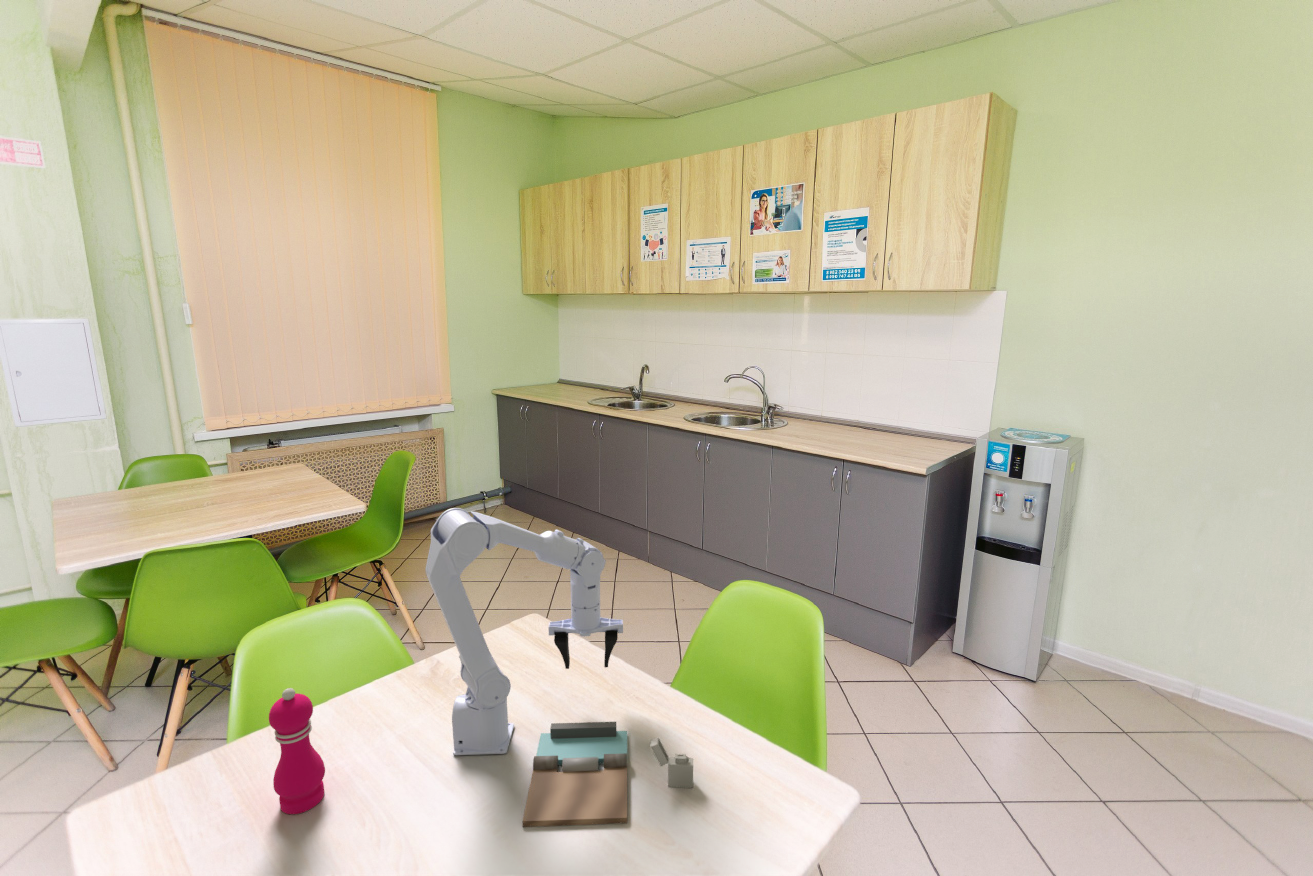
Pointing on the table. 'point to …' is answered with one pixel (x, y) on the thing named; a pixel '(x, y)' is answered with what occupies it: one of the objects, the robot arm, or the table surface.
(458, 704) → the robot arm
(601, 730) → the teal hinge plate
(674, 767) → the lighter
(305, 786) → the pepper mill
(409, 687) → the table surface
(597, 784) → the fixed leaf
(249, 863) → the table surface
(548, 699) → the table surface
